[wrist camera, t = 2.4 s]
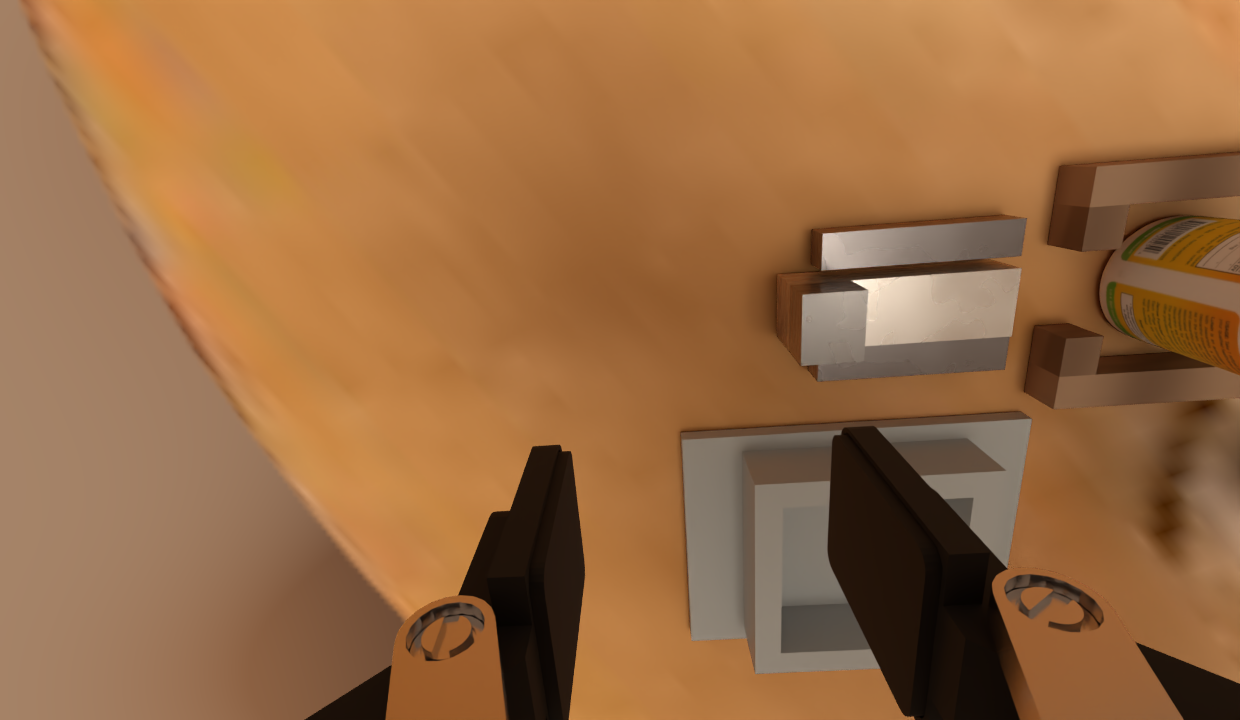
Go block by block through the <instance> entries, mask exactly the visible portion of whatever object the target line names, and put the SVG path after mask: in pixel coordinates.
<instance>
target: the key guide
mask: <svg viewBox="0 0 1240 720" xmlns="http://www.w3.org/2000/svg"><path fill="white" fill-rule="evenodd" d="M1026 221H1027V218H1022V217H1015V216H1009V215H995V216H982V217H969V218H956V219H943V220H929V221H916V222H903V223H890V224H877V225H864V226H851V227H838V228H824V229H812V242H811V265H813V266H814V267H816V268H818V269H820V270H821V271H823V270H837V269H851V268H864V267H878V266H892V265H905V264H919V263H933V262H947V261H960V260H974V259H988V258H1001V257H1015V256H1021V255H1022V248H1023V241H1024V234H1025V228H1026ZM1009 338H1010V337H996V338H981V339H966V340H951V341H936V342H921V343H906V344H891V345H877V346H865V355H864V362H853V363H837V364H822V365H808V371H809V372H810V373H811V374H812V375H813V377H814V378H815V379H816V380H817V381H818V382H819V381H834V380H850V379H865V378H881V377H896V376H912V375H927V374H943V373H958V372H974V371H989V370H1005V365H1006V358H1007V351H1008V344H1009Z"/></svg>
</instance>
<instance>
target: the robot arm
mask: <svg viewBox="0 0 1240 720" xmlns="http://www.w3.org/2000/svg"><path fill="white" fill-rule="evenodd" d="M827 552H828V559H829V563H830V566H831V568H832V571H833V573H834V575H835V577H836V579H837V581H838V583H839V585H840V587H841V589H842V591H843V593H844V595H845V597H846V599H847V601H848V603H849V605H850V607H851V610H852V612H853V614H854V616H855V618H856V620H857V622H858V624H859V626H860V628H861V630H862V632H863V634H864V636H865V638H866V640H867V642H868V644H869V646H870V649H871V651H872V653H873V655H874V657H875V659H876V661H877V663H878V665H879V667H880V669H881V671H882V673H883V675H884V677H885V679H886V681H887V683H888V685H889V688H890V690H891V692H892V694H893V696H894V698H895V700H896V702H897V704H898V706H899V708H900V710H901V711H902V713H903V714H904V715H905V716H907V717H908V716H914V718H915V720H1240V684H1239V683H1236V682H1234V681H1231V680H1229V679H1226V678H1224V677H1221V676H1219V675H1216V674H1214V673H1211V672H1209V671H1206V670H1204V669H1201V668H1199V667H1196V666H1194V665H1191V664H1189V663H1186V662H1184V661H1181V660H1179V659H1176V658H1174V657H1171V656H1169V655H1166V654H1164V653H1161V652H1159V651H1156V650H1154V649H1151V648H1149V647H1146V646H1144V645H1141V644H1139V643H1136V642H1135V641H1134V640H1133V638H1132V637H1131V635H1130V634H1129V632H1128V630H1127V629H1126V627H1125V626H1124V624H1123V622H1122V621H1121V619H1120V618H1119V616H1118V614H1117V613H1116V611H1115V610H1114V609H1113V607H1112V606H1111V605H1110V604H1109V603H1108V602H1107V601H1106V599H1105V598H1104V597H1102V596H1101V595H1099V594H1098V593H1097V592H1095V591H1094V590H1093V589H1091V588H1090V587H1088V586H1086V585H1084V584H1082V583H1080V582H1078V581H1077V580H1075V579H1073V578H1070V577H1067V576H1064V575H1061V574H1059V573H1056V572H1052V571H1048V570H1043V569H1038V568H1021V567H1019V568H1013V569H1007V568H1006V566H1005V565H1004V564H1003V563H1002V562H1001V561H1000V560H999V559H998V558H997V557H996V556H995V555H994V553H993V552H992V551H991V550H990V549H989V548H988V547H987V546H986V545H985V544H984V543H983V541H982V540H981V539H980V538H979V537H978V536H977V535H976V534H975V533H974V532H973V531H972V529H971V528H970V527H969V526H968V525H967V524H966V523H965V522H964V521H963V520H962V519H961V517H960V516H959V515H958V514H957V513H956V512H955V511H954V510H953V509H952V508H951V507H950V505H949V504H948V503H947V502H946V501H945V500H944V499H943V498H942V497H941V496H940V495H939V493H938V492H936V491H935V490H934V489H932V488H931V487H930V486H929V485H928V484H927V483H926V482H925V481H924V480H923V478H922V477H921V476H920V475H919V474H918V473H917V472H916V471H915V470H914V469H913V467H912V466H911V465H910V464H909V463H908V462H907V461H906V460H905V459H904V458H903V456H902V455H901V454H900V453H899V452H898V451H897V450H896V449H895V448H894V447H893V445H892V444H891V443H890V442H889V441H888V440H887V439H886V438H885V437H884V436H883V435H882V433H881V432H880V431H879V430H878V429H877V428H876V427H875V426H860V427H844V428H843V429H842V432H841V435H834V437H833V439H832V454H831V477H830V499H829V521H828V544H827ZM584 579H585V564H584V554H583V546H582V537H581V529H580V520H579V512H578V503H577V495H576V486H575V478H574V469H573V461H572V454H571V451H565V452H562V449H561V446H560V445H549V446H533V447H532V449H531V452H530V455H529V458H528V461H527V464H526V467H525V469H524V472H523V475H522V478H521V481H520V484H519V487H518V490H517V492H516V495H515V498H514V501H513V504H512V507H511V510H510V511H499V512H493V513H492V514H491V516H490V517H489V520H488V522H487V525H486V527H485V530H484V532H483V535H482V537H481V540H480V542H479V545H478V547H477V550H476V552H475V555H474V557H473V560H472V562H471V565H470V567H469V570H468V572H467V575H466V577H465V580H464V582H463V585H462V587H461V590H460V592H459V595H458V596H452V597H445V598H443V599H440V600H437V601H434V602H431V603H429V604H428V605H426V606H424V607H422V608H421V609H419V610H417V611H416V612H415V613H414V614H413V615H412V616H410V617H409V618H408V619H407V620H406V621H405V623H404V624H403V625H402V627H401V628H400V630H399V631H398V633H397V637H396V640H395V643H394V650H393V659H392V665H391V666H389V667H388V668H386V669H384V670H383V671H382V672H380V673H378V674H376V675H375V676H373V677H372V678H370V679H369V680H367V681H365V682H364V683H362V684H361V685H359V686H358V687H356V688H354V689H353V690H351V691H349V692H348V693H346V694H345V695H343V696H342V697H340V698H339V699H337V700H335V701H334V702H332V703H331V704H329V705H327V706H326V707H324V708H323V709H321V710H319V711H318V712H316V713H315V714H313V715H312V716H310V717H308V718H307V719H305V720H569V711H570V702H571V693H572V685H573V676H574V667H575V658H576V650H577V641H578V632H579V623H580V615H581V606H582V597H583V588H584Z"/></svg>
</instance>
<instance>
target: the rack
mask: <svg viewBox="0 0 1240 720" xmlns="http://www.w3.org/2000/svg"><path fill="white" fill-rule="evenodd" d="M1031 422H1032V418H1030V417H1029V416H1027V415H1026V414H1024V413H1022V412H1006V413H990V414H973V415H957V416H941V417H924V418H908V419H892V420H875V421H859V422H843V423H826V424H810V425H794V426H778V427H761V428H745V429H729V430H712V431H696V432H681V448H682V469H683V489H684V510H685V530H686V551H687V571H688V592H689V612H690V631H691V639H692V641H699V640H721V639H743V638H747V641H748V645H749V649H750V653H751V658H752V662H753V666H754V670H755V674H764V673H788V672H811V671H835V670H858V669H880V667H879V665H878V663H877V661H876V659H875V657H874V655H873V653H872V651H871V649H870V646H869V644H868V642H867V640H866V638H865V636H864V634H863V632H862V630H861V628H860V626H859V624H858V622H857V620H856V618H855V616H854V614H853V612H852V610H851V607H850V605H849V603H848V601H847V599H846V597H845V595H844V593H843V591H842V589H841V587H840V585H839V583H838V581H837V579H836V577H835V575H834V573H833V571H832V568H831V566H830V563H829V559H828V552H827V544H828V521H829V499H830V477H831V454H832V439H833V437H834V435H841V432H842V429H843V428H844V427H860V426H875V427H876V428H877V429H878V430H879V431H880V432H881V433H882V435H883V436H884V437H885V438H886V439H887V440H888V441H889V442H890V443H891V444H892V445H893V447H894V448H895V449H896V450H897V451H898V452H899V453H900V454H901V455H902V456H903V458H904V459H905V460H906V461H907V462H908V463H909V464H910V465H911V466H912V467H913V469H914V470H915V471H916V472H917V473H918V474H919V475H920V476H921V477H922V478H923V480H924V481H925V482H926V483H927V484H928V485H929V486H930V487H931V488H932V489H934V490H935V491H936V492H938V493H939V495H940V496H941V497H942V498H943V499H944V500H945V501H946V502H947V503H948V504H949V505H950V507H951V508H952V509H953V510H954V511H955V512H956V513H957V514H958V515H959V516H960V517H961V519H962V520H963V521H964V522H965V523H966V524H967V525H968V526H969V527H970V528H971V529H972V531H973V532H974V533H975V534H976V535H977V536H978V537H979V538H980V539H981V540H982V541H983V543H984V544H985V545H986V546H987V547H988V548H989V549H990V550H991V551H992V552H993V553H994V555H995V556H996V557H997V558H998V559H999V560H1000V561H1001V562H1002V563H1003V564H1004V565H1005V566H1006V568H1007V566H1008V560H1009V554H1010V548H1011V542H1012V536H1013V530H1014V524H1015V518H1016V512H1017V506H1018V500H1019V494H1020V488H1021V482H1022V476H1023V470H1024V464H1025V458H1026V452H1027V446H1028V440H1029V434H1030V428H1031Z"/></svg>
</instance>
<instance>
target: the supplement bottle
mask: <svg viewBox="0 0 1240 720" xmlns="http://www.w3.org/2000/svg"><path fill="white" fill-rule="evenodd" d="M1099 296H1100V303H1101V308H1102V310H1103V313H1104V315H1105V317H1106V318H1107V320H1108V321H1109V322H1110V323H1111V325H1112V326H1114V327H1115V328H1116V329H1118V330H1119V331H1121V332H1122V333H1124V334H1126V335H1128V336H1131V337H1133V338H1136V339H1138V340H1141V341H1144V342H1147V343H1149V344H1152V345H1155V346H1158V347H1161V348H1164V349H1167V350H1170V351H1172V352H1175V353H1178V354H1181V355H1184V356H1187V357H1189V358H1192V359H1195V360H1198V361H1201V362H1204V363H1206V364H1209V365H1212V366H1215V367H1218V368H1221V369H1223V370H1226V371H1229V372H1231V373H1234V374H1237V375H1240V220H1235V219H1224V218H1214V217H1204V216H1175V217H1169V218H1165V219H1162V220H1158V221H1156V222H1153V223H1151V224H1149V225H1147V226H1144V227H1143V228H1141V229H1139V230H1138V231H1136V232H1135V233H1133V234H1132V235H1131V236H1129V237H1128V238H1127V239H1126V240H1125V241H1124V242H1123V243H1122V247H1121V249H1116V250H1115V252H1114V253H1113V254H1112V256H1111V257H1110V259H1109V261H1108V263H1107V265H1106V267H1105V269H1104V271H1103V275H1102V278H1101V282H1100V291H1099Z"/></svg>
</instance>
